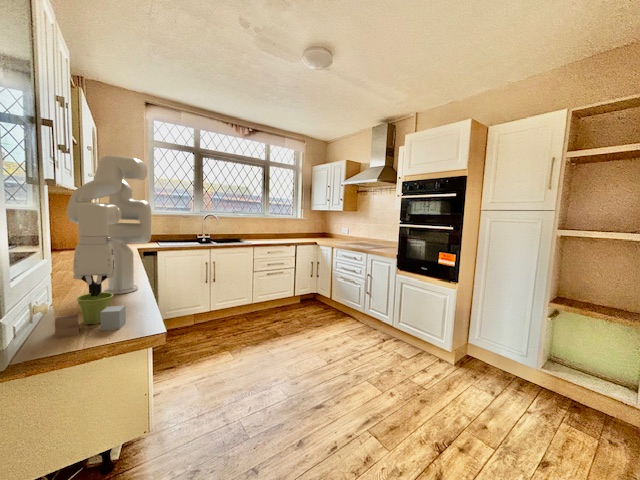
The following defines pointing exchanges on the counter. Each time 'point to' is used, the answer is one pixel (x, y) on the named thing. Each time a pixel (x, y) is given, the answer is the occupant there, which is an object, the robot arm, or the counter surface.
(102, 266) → the robot arm
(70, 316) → the walnut block
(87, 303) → the plant pot
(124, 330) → the counter surface
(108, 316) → the slate block
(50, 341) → the counter surface
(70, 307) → the counter surface
